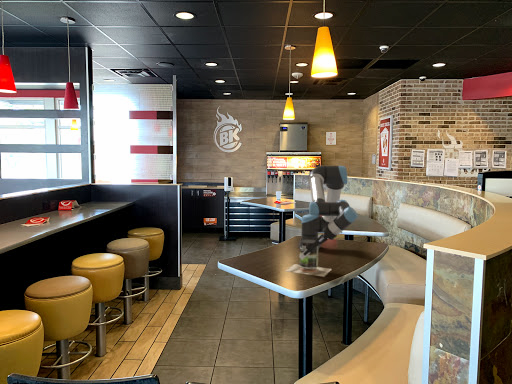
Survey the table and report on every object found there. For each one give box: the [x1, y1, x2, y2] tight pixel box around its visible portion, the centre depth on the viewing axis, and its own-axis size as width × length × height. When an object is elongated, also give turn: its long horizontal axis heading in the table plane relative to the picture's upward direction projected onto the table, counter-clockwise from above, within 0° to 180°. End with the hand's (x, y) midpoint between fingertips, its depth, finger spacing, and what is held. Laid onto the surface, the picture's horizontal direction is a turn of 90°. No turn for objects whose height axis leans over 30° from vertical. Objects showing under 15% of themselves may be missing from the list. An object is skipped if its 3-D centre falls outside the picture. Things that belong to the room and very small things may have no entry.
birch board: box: [284, 263, 332, 278], centre depth 215 cm, size 22×16×1 cm
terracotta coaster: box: [300, 268, 317, 272], centre depth 215 cm, size 9×9×1 cm
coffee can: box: [298, 239, 319, 269], centre depth 215 cm, size 10×10×14 cm
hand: (303, 255), depth 216 cm, fingers closed on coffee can, 10 cm apart
